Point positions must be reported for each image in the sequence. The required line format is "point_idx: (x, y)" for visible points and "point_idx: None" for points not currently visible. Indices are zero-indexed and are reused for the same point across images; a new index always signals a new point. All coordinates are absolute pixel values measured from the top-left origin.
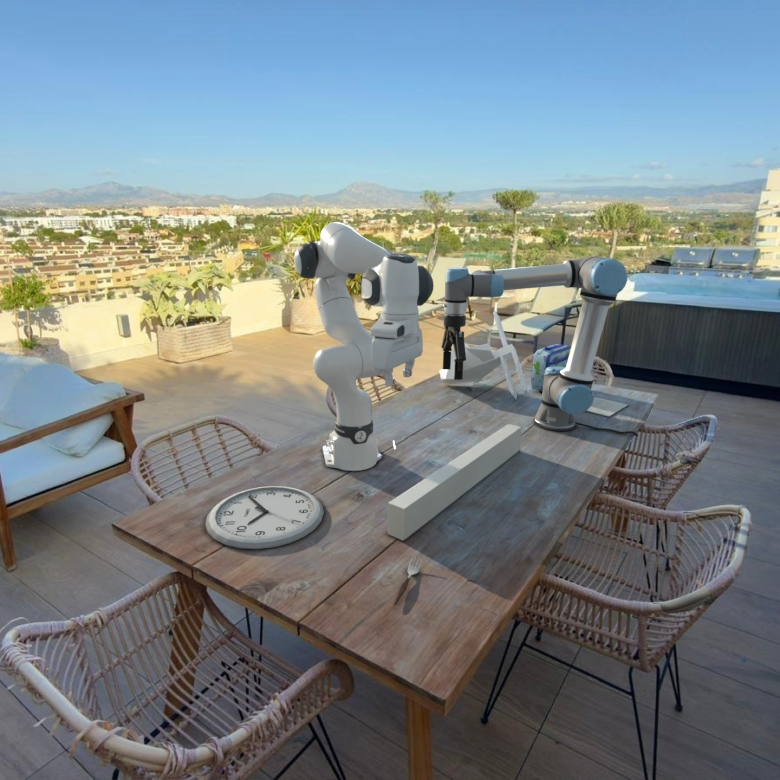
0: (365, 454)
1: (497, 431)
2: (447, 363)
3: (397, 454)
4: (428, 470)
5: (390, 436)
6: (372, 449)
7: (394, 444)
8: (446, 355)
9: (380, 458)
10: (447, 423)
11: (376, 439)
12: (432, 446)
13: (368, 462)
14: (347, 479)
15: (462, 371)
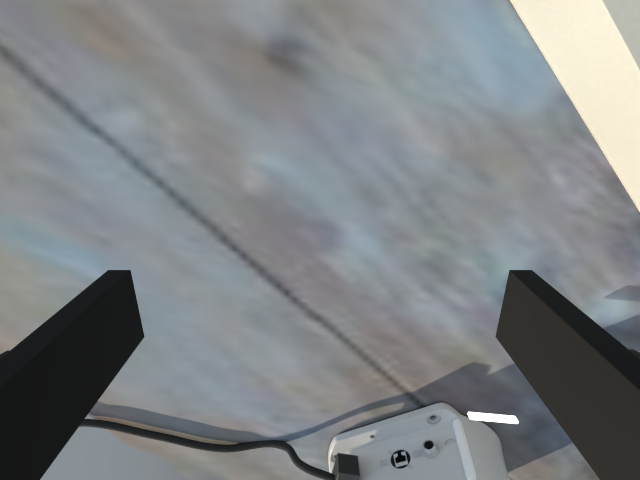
0: (508, 476)
1: (625, 37)
2: (101, 340)
3: (430, 362)
4: None
5: (295, 357)
6: (492, 463)
7: (500, 421)
8: (31, 443)
9: (451, 407)
10: (184, 139)
11: (473, 469)
12: (399, 257)
13: (499, 449)
14: (529, 475)
15: (587, 320)
